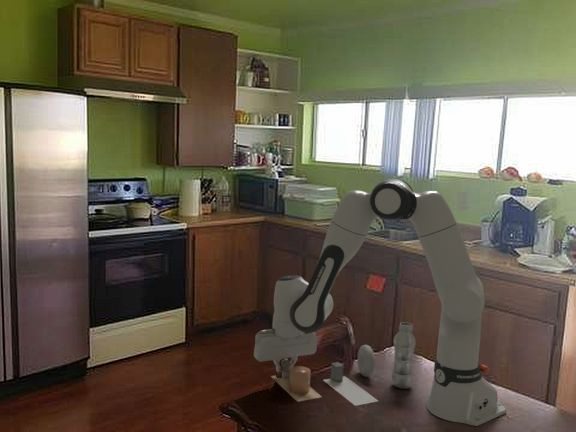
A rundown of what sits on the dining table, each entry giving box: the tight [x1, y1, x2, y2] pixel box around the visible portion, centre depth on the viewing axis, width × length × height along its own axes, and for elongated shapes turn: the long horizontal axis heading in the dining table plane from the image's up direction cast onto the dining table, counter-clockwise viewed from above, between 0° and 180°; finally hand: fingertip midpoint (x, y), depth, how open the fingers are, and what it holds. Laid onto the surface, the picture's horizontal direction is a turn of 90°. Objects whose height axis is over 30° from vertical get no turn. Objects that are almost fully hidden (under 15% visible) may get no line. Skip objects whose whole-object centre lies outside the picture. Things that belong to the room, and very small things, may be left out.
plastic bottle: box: [390, 321, 416, 390], centre depth 168 cm, size 6×7×20 cm
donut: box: [357, 344, 376, 378], centre depth 175 cm, size 10×3×10 cm, turn 10°
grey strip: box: [322, 361, 379, 407], centre depth 162 cm, size 8×18×6 cm, turn 26°
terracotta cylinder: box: [289, 365, 312, 394], centre depth 160 cm, size 6×6×6 cm
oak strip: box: [270, 358, 323, 403], centre depth 163 cm, size 8×18×6 cm, turn 26°
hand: (284, 370), depth 169 cm, fingers closed on oak strip, 2 cm apart
